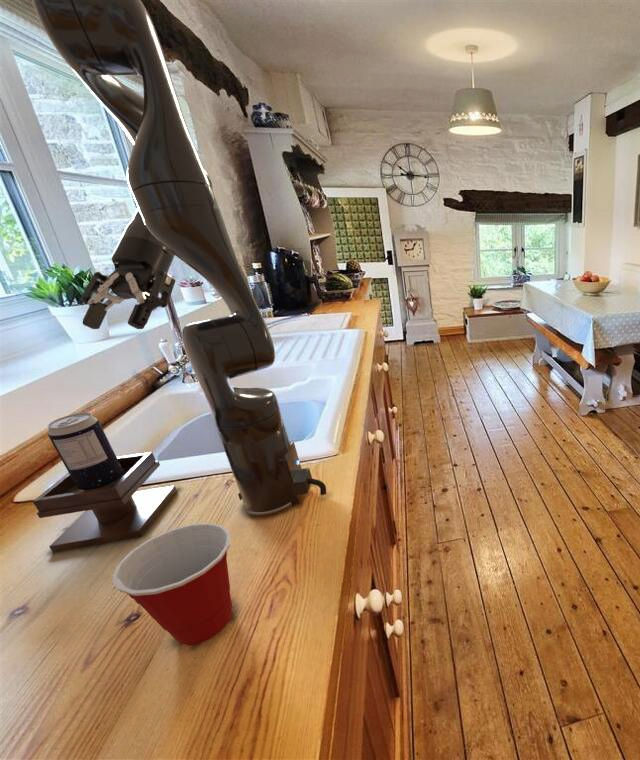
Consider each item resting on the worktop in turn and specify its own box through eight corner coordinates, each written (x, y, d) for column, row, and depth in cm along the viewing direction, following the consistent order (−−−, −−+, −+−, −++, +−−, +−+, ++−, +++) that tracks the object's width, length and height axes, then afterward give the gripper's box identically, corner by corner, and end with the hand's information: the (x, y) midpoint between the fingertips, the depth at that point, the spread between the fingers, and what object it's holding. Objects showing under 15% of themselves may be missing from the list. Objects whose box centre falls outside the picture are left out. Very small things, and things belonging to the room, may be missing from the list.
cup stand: (177, 490, 77) (158, 448, 73) (141, 536, 66) (117, 490, 62) (102, 502, 74) (79, 460, 71) (52, 552, 64) (22, 505, 60)
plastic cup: (265, 624, 51) (237, 553, 46) (157, 688, 45) (111, 612, 40) (246, 572, 59) (220, 506, 54) (151, 620, 52) (112, 550, 48)
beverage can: (134, 473, 70) (104, 411, 65) (101, 495, 65) (66, 429, 60) (104, 472, 70) (73, 411, 66) (69, 494, 65) (32, 429, 60)
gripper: (92, 235, 72) (50, 316, 66) (165, 233, 70) (128, 315, 64) (132, 262, 79) (97, 337, 73) (199, 260, 77) (169, 337, 71)
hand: (112, 327), depth 69 cm, fingers open, 8 cm apart
